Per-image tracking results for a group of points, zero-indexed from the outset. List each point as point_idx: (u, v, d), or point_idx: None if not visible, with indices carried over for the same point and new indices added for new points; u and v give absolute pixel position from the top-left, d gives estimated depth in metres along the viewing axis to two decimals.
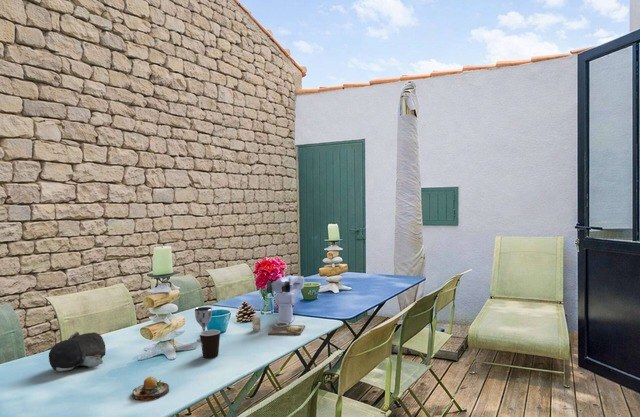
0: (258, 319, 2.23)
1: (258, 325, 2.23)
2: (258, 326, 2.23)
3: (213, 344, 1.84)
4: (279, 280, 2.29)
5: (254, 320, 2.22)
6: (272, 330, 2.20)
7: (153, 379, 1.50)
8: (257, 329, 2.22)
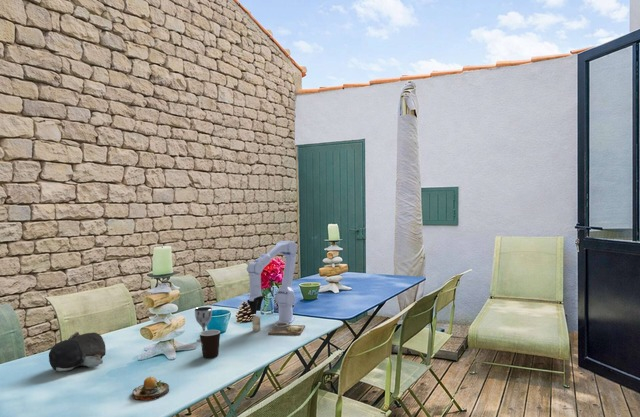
0: (258, 319, 2.23)
1: (258, 325, 2.23)
2: (258, 326, 2.23)
3: (213, 344, 1.84)
4: None
5: (254, 320, 2.22)
6: (272, 330, 2.20)
7: (153, 379, 1.50)
8: (257, 329, 2.22)
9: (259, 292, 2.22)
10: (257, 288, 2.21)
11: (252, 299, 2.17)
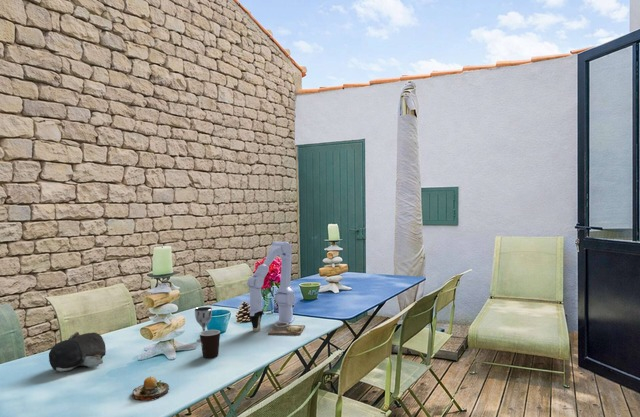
0: None
1: (258, 325, 2.23)
2: (258, 326, 2.23)
3: (213, 344, 1.84)
4: None
5: None
6: (272, 330, 2.20)
7: (153, 379, 1.50)
8: (257, 329, 2.22)
9: (259, 307, 2.22)
10: (257, 303, 2.22)
11: (252, 314, 2.17)
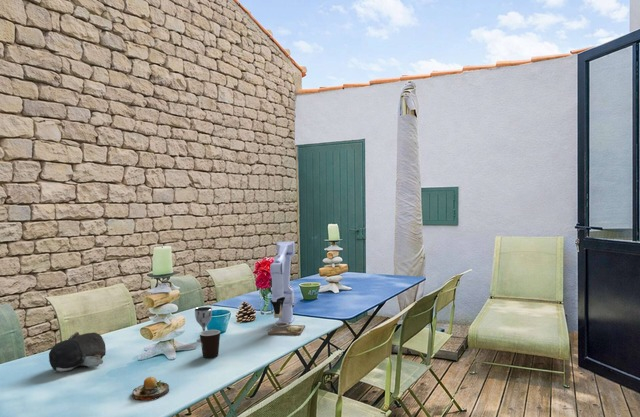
0: None
1: None
2: (280, 312, 2.22)
3: (213, 344, 1.84)
4: None
5: None
6: (272, 330, 2.20)
7: (153, 379, 1.50)
8: (279, 315, 2.21)
9: (281, 293, 2.21)
10: (279, 289, 2.21)
11: (275, 300, 2.16)
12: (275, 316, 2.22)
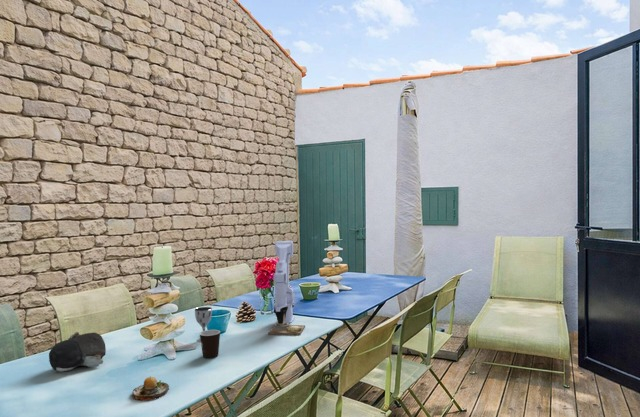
0: None
1: (283, 321, 2.22)
2: (283, 322, 2.22)
3: (213, 344, 1.84)
4: None
5: None
6: (272, 330, 2.20)
7: (153, 379, 1.50)
8: (282, 325, 2.21)
9: (285, 302, 2.21)
10: (283, 298, 2.21)
11: (278, 310, 2.16)
12: None
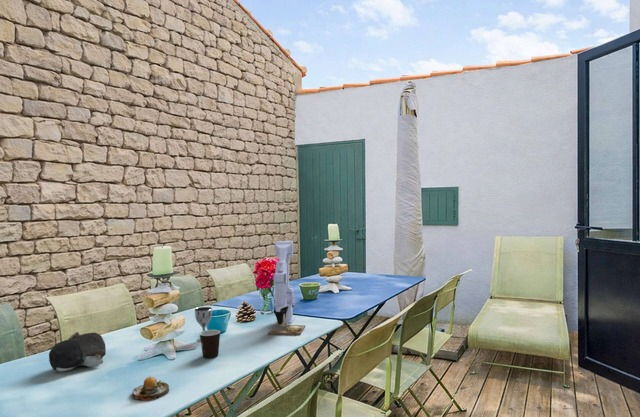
0: (283, 317, 2.22)
1: (283, 323, 2.22)
2: (283, 324, 2.22)
3: (213, 344, 1.84)
4: None
5: None
6: (272, 330, 2.20)
7: (153, 379, 1.50)
8: None
9: (285, 303, 2.21)
10: (283, 299, 2.21)
11: (278, 310, 2.16)
12: None
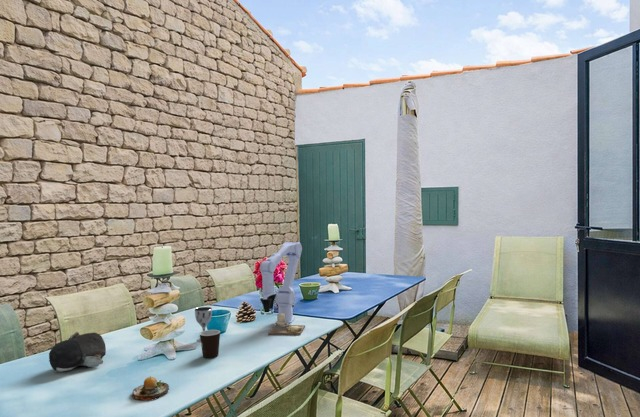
0: (283, 317, 2.22)
1: (283, 323, 2.22)
2: (283, 324, 2.22)
3: (213, 344, 1.84)
4: None
5: (279, 318, 2.21)
6: (272, 330, 2.20)
7: (153, 379, 1.50)
8: None
9: (272, 291, 2.25)
10: (270, 287, 2.24)
11: (265, 297, 2.20)
12: None
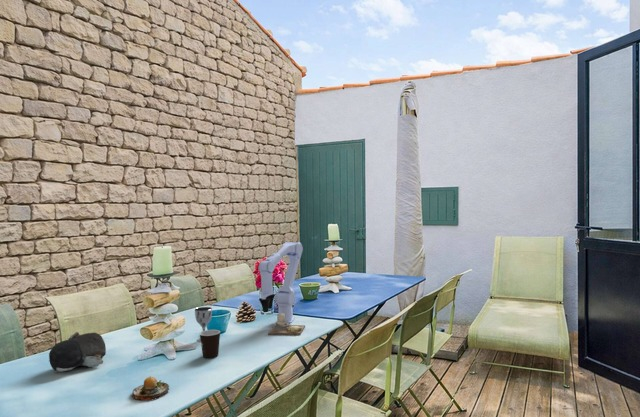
0: (283, 317, 2.22)
1: (283, 323, 2.22)
2: (284, 324, 2.22)
3: (213, 344, 1.84)
4: None
5: (279, 318, 2.21)
6: (272, 330, 2.20)
7: (153, 379, 1.50)
8: None
9: (271, 290, 2.25)
10: (269, 287, 2.25)
11: (264, 297, 2.20)
12: None
